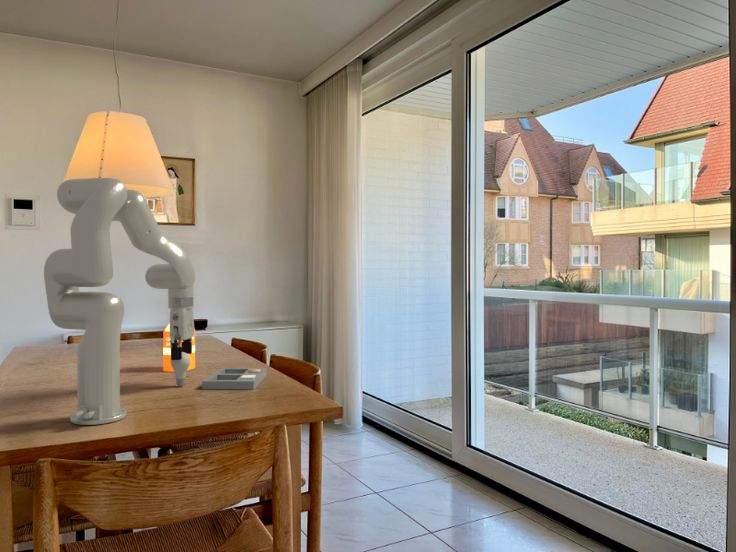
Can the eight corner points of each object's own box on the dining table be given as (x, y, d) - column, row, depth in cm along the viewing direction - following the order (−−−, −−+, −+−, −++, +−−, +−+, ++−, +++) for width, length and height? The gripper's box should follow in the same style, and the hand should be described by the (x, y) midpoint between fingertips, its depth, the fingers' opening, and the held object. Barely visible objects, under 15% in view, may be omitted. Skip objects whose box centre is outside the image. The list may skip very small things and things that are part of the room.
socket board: (253, 389, 166) (253, 380, 166) (202, 389, 166) (202, 380, 166) (266, 375, 188) (266, 366, 188) (221, 375, 188) (221, 366, 188)
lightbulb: (184, 389, 166) (184, 353, 166) (166, 388, 167) (166, 353, 167) (194, 384, 172) (194, 350, 172) (177, 383, 173) (177, 350, 173)
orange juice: (163, 371, 194) (163, 316, 194) (177, 366, 203) (177, 314, 202) (182, 372, 192) (182, 316, 192) (195, 367, 201) (195, 314, 200)
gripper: (183, 305, 161) (184, 362, 161) (201, 300, 178) (201, 351, 179) (158, 305, 161) (159, 362, 161) (178, 300, 178) (179, 351, 179)
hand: (181, 356), depth 170 cm, fingers open, 9 cm apart
